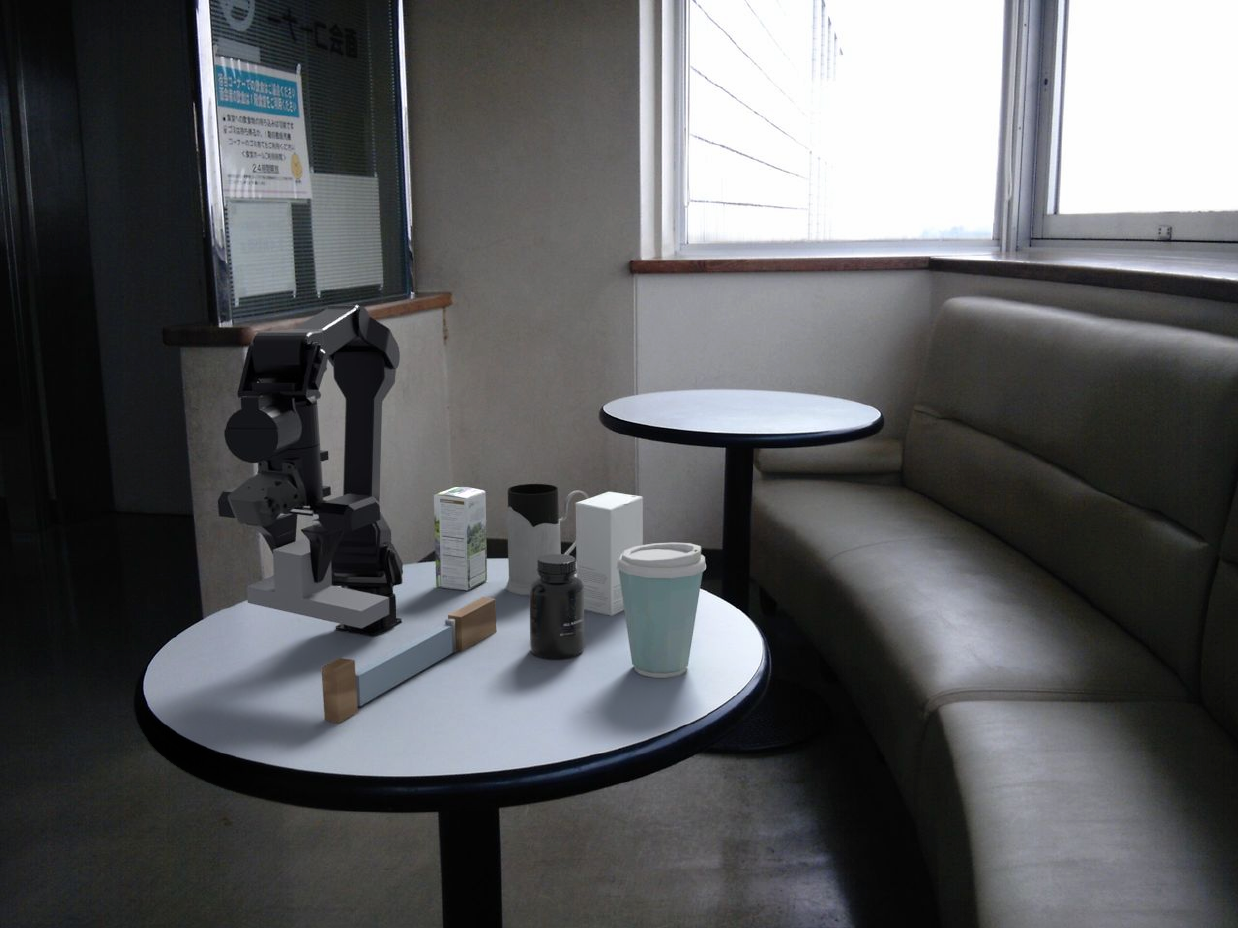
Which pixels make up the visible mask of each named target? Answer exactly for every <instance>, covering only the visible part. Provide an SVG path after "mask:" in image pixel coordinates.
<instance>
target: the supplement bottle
mask: <svg viewBox="0 0 1238 928" xmlns="http://www.w3.org/2000/svg"><path fill="white" fill-rule="evenodd" d="M537 574H538V575H539V577H538V578H536V579H535V580H534V581H533V582H532V583H531V585H530V595H529V640H530V642H529V643H530V645H529V647H530V650H531V652H532V654H534V655H535V656H537V657H539V658H542V659H549V660H565V659H570V658H574V657H577V656H579V655H580V654H581V653H582V652H583V651H584V648H585V610H584V585H583V583H582V582H581V580H580V579H578V578H577V576H575V575H577V568H576V556H575V557H574V556H573V555H570V554H569V555H565V553H563V554H562V553H561V554H550V555H544V556H541V557H539V558H538V560H537Z"/></svg>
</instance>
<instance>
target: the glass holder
mask: <svg viewBox="0 0 1238 928" xmlns="http://www.w3.org/2000/svg"><path fill="white" fill-rule="evenodd" d="M576 494H582V495H583V496H584V498H585V500H586V499H589V498H590V497H589V495H588V494H587V493H586V492H585V491H582V490H574V491H571V492H570V493H569V494H568V495H567V496H566V497H565V500H564V503H563V515H562V517H561V518H560V514H559V512H560V511H559V509H560V507H559V487H557V486H556V485H552V484H549V483H548V484H546V483H525V484H518V485H517V484H516V485H514V486H510V487H508V488H507V508H506V521H507V522H506V523H507V524H506V525H507V526H506V527H507V529H506V530H507V557H508V558H507V559H508V582H507V583H506V585H505V589H506V590H507V591H508V592H510V593H513V594H516V595H523V596H530V585H531V583H532V582H533V581H534V580H535V579H536V578H538V577H539V575H538V574H537V560H538V558H539V557H541V556H544V555H550V554H562V553H561V549H562V548H561V547H562V546H561V523H562V522H564V521H565V520H566V519H567V517H568V509H569V508H568V507H569V502H570V500H571V498H572V497H573V496H574V495H576ZM575 547H576V540H575V541H574V542H573V543H572V545H570V547H569V548H568V549H566V551H565V552H564V554H565V555H570V553H572V551H573V550H574V549H576V548H575Z"/></svg>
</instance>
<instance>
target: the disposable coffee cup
mask: <svg viewBox="0 0 1238 928" xmlns="http://www.w3.org/2000/svg"><path fill="white" fill-rule="evenodd" d="M617 569H618V570H619V577H620V584H621V591H622V598H623V604H624V610H623V611H624V616H625V625H626V630H627V638H628V645H629V652H630V658H631V664H632V665H633V666H634V671H635V672H637V673H638V675H640V676H645V677H648V678H657V679H662V678H663V679H669V678H674V677H679V676H680V675H682V674H684V673H686V670H687V669H686V668H687V667H688V666H689V661H690V654H691V649H692V648H691V647H692V643H693V636H694V630H695V625H696V624H695V622H696V616H697V610H698V604H699V597H700V592H701V584H702V579H703V573H704V571H705V570H706V569H707V564H706V556H704V555H703V554H702V546H701V545H698V544H694V543H691V542H675V541H674V542H658V543H649V544H643V545H640V546H635V547H632V548H630V549H627V550H624V552H623V553H622V554H620V556H619V559H618V565H617Z"/></svg>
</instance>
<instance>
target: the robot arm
mask: <svg viewBox="0 0 1238 928" xmlns="http://www.w3.org/2000/svg"><path fill="white" fill-rule="evenodd" d="M395 338H396V337H394V335H393V333H392V331H391V329H390V328H389V327H387V325H384V324H382V323H381V322H379V321H377V320H376V319H375V318H373V317H371V316H370V314H369V312H368V311H367V309H366V308H365V306H360V305H359V304H329V305H328V306H326V307H325V306H324V307H323V308H322V310H321V311H320V312H319V313H318V314H316V315H314V316H313V317H311V318H309V319H307V320H305V321H304V322H301V324H299V325H297V326H295V327H293V328H291V329H277V330H274V329H273V330H265V331H259V332H257V333H256V334H255V335H254V336H253V338H252V340H251V343H250V344H249V345H248V348H247V351H246V355H245V359H244V363H243V367H242V373H241V376H240V381H239V385H238V390H237V398H238V399H240V408H241V409H239V410H238V409H237V410H236V412H234V413H233V414H231V416H230V417H229V419H228V420H227V423H226V426H225V429H224V431H223V432H224V440H225V443H226V446H227V447H228V449H229V451H230V452H231V454H232V455H233V456H234V457H236V458H237V459H238V460H241V461H242V462H244V463H249V464H257V474H256V475H254V476H251V477H250V478H248V479H246V480H245V481H244V482H243V483H241V484H240V485H239V486H236V487H233V488H229V489H225V490H223V491H222V492H221V493H220V495H219V497H218V499H217V509H218V517H221V518H222V517H223V518H230V519H236V522H237V523H238V524H239V525H240V524H241V525H245V526H247V527H250V528H252V529H254V530H255V531H256V532H258V533H259V534H261V535H262V537H263V538H264V540H265V542H266V544H267V545H268V547H269V549H270V551H271V554H272V555H273V550H274V549H277V548H279V547H282V546H285V545H287V544H290V543H293V542H296V541H297V528H298V526H297V525H298V524H297V523H298V515H300V516H308V517H312V519H313V520H312V525H308V526H307V527H305V528H301V529H300V532H301V533H302V534H303V535H304V536H305V537H306V539H307V540H309V542H310V553H311V564H312V573H313V578H314V582H315V583H319V582H321V581H323V579H324V577H325V574H326V572H327V569H328V567H329V564H330V562H331V576H332V586H337V587H341V588H346V589H351V590H356V591H361V592H366V593H370V594H375V595H380V596H385V597H389V615H387V616H385V617H383V618H381V619H379V620H377V621H375V622H373V623H371V624H369V625H367V626H366V627H364V628H357V627H353V626H348V625H344V624H339V623H338V624H337V625H335V630H336V631H338V632H339V631H340V632H344V633H350V634H356V635H361V636H362V635H363V636H368V637H374V636H377V635H380V634H381V633H384V632H385V631H387V630H389V629H391V628H393V627H396V626H398V625H399V624H401V623H402V622H403V619H402V618H401V617H397V600H396V598H397V597H396V593H394V587H395V586H399V585H402V584H403V574H404V570H403V569H404V568H403V566H404V565H403V564H404V563H403V561H402V559H401V557H400V555H399V553H398V551H397V549H396V548H395V547H396V546H395V545H394V544H393V543H392V529H391V528H390V526H389V525H388V523H387V521H386V520H385V518H384V516H383V514H382V513H381V506H380V497H381V496H380V495H381V493H380V491H381V463H382V462H381V457H382V456H381V454H382V452H381V451H382V426H383V425H382V422H383V421H382V420H383V417H382V416H383V401H384V399H385V398H386V397H387V395H388V394H389V392H390V391H391V389H392V388H393V386H394V385H395V384H396V376H397V375H396V374H397V373H396V372H397V369H398V367H399V365H400V358H401V357H400V356H401V355H400V353H401V351H400V347H399V344H398V342H397V340H396V339H395ZM328 361H329V363H330V364H331V366H332V368H333V380H334V381H335V383H336V385H337V386H338V388H339V389H340V392H341V393H342V395H343V397H344V398H345V411H344V412H345V413H344V415H345V416H344V417H345V418H344V419H345V420H344V451H343V452H344V453H343V485H342V487H343V488H342V489H343V490H342V491H343V492H342V495H340V496H337V497H335V498H331V499H329V500H326V499H325V500H324V498H326V497H329V496H332V488H331V485H330V486H329V485H324V483H323V470H322V469H323V468H322V466H323V465H322V462H325V461H329V458H330V457H329V450H321V439H320V423H319V409H318V400H319V399H321V397H322V394H321V392H320V387H321V384H322V380H323V378H324V374H325V373H326V371H327V370H328V367H327V365H328Z"/></svg>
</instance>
